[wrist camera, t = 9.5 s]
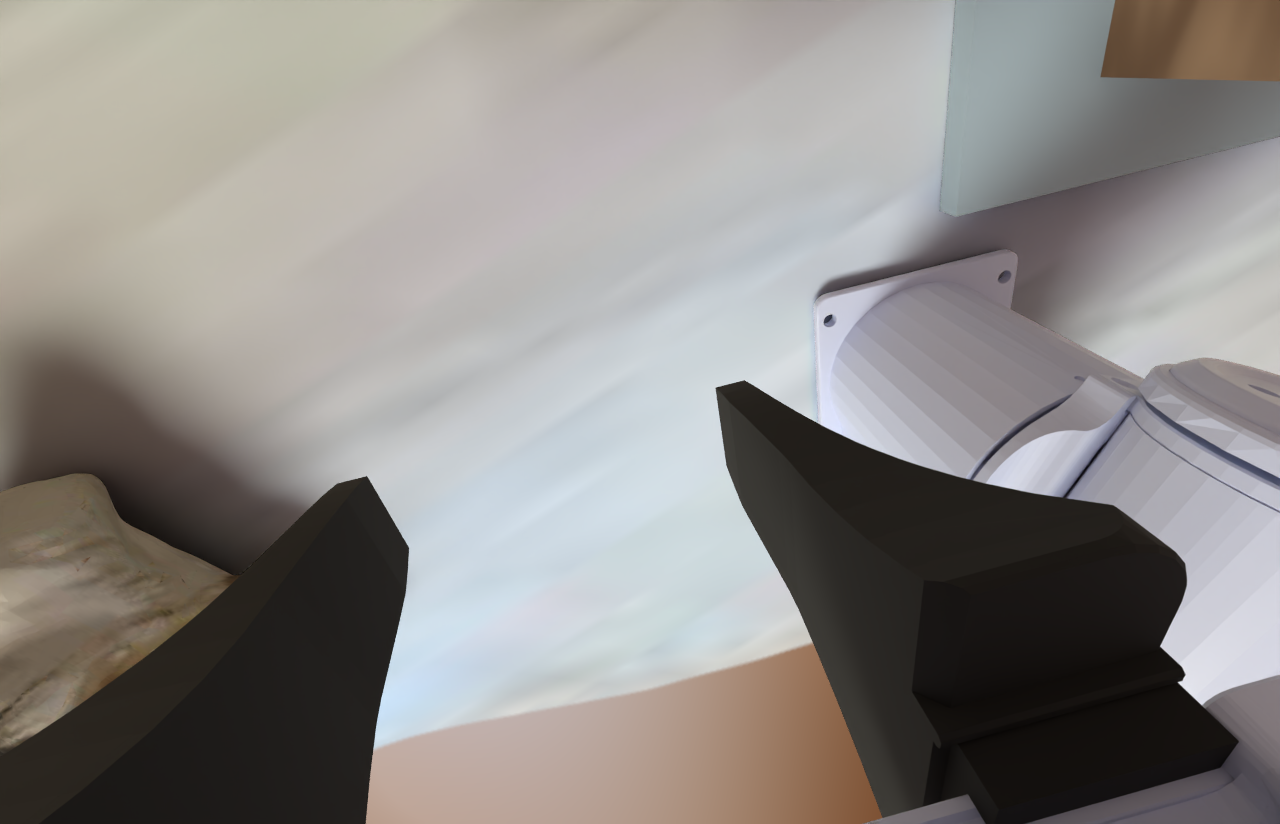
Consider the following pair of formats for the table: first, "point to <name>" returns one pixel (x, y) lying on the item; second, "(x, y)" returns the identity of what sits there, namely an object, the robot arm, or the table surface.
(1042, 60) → the board
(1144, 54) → the walnut block
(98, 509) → the ceramic sculpture
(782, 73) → the table surface
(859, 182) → the table surface
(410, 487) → the table surface
